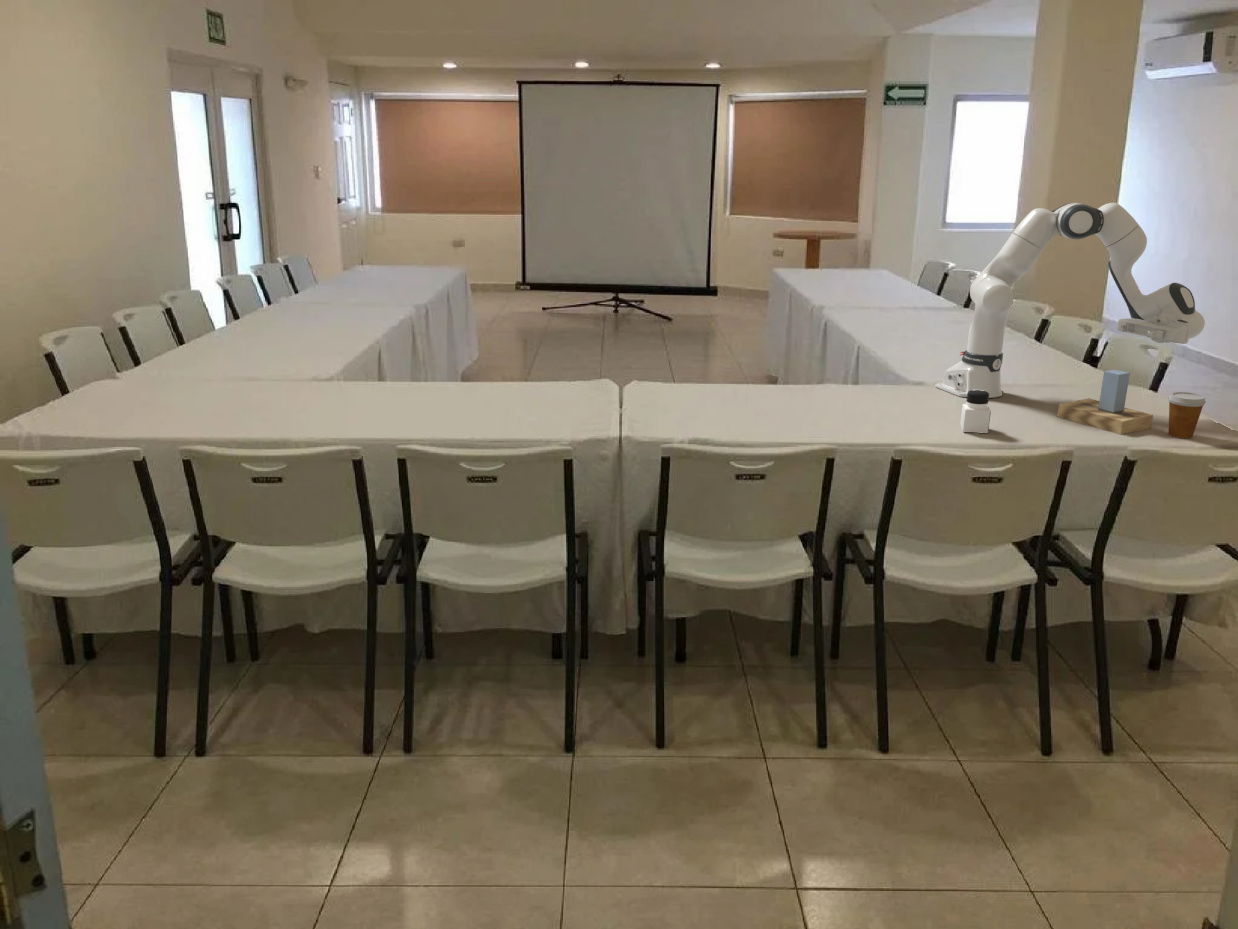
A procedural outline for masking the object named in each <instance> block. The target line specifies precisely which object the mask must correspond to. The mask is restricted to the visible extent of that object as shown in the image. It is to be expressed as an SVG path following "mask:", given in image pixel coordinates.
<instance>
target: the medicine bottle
mask: <svg viewBox="0 0 1238 929" xmlns="http://www.w3.org/2000/svg"><path fill="white" fill-rule="evenodd" d="M989 399H990V398H989V393H988V392H986V391H984V390H970V391H968V393H967V397H966V403H962V406H961V407H962V408H961V416H960V424H959V425H960V429H961V431H962V430H963V431H962V433H963V432H979V433H980V432H982V433H988V434H989V428H990V422H991V421H990V420H991V409H990V408H989V407H990V406H989ZM979 433H978V434H979Z"/></svg>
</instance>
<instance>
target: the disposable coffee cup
mask: <svg viewBox="0 0 1238 929" xmlns="http://www.w3.org/2000/svg"><path fill="white" fill-rule="evenodd" d="M1205 398H1206V397H1205V396H1204V395H1202V394H1199V393H1194V392H1190V391H1189V392H1188V391H1186V392H1185V391H1175V392H1171V393H1170V395H1169V397H1168V402H1169V404H1168V405H1169V407H1168V430H1167V432H1168V433H1167V434H1168V436H1171V437H1173V438H1178V439H1192V438H1193V437H1194V434H1195V431H1196V427H1197V425H1198V422H1199V419H1200V416H1201V412H1202V410H1203V407H1204V406H1205V404H1206V399H1205Z"/></svg>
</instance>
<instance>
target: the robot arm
mask: <svg viewBox="0 0 1238 929" xmlns="http://www.w3.org/2000/svg"><path fill="white" fill-rule="evenodd" d="M1093 235H1095V236H1096V237H1097V238H1098V239H1099V240H1100V241H1101V242H1102V243H1103V245H1104V247H1105V248H1106V249H1107V251H1108V254H1109V258H1110V260H1109V262H1108V269H1109V272H1110V275H1111V277H1112V279H1113V281H1114V283H1115V285H1116V287H1117V289H1118V290H1119V293H1120V294H1121V296H1122V298H1123V300H1124V303H1125V304H1126V307H1127V309H1128V312H1129V316H1130V318H1128V317H1127V318H1120V319H1118V321H1117V324H1116V330H1117V331H1119V332H1123V333H1129V334H1134V335H1139V336H1143V337H1146V338H1150V339H1151V340H1152V341H1153V342H1154V343H1158V344H1164V343H1166V344H1167V343H1168V344H1169V343H1173V344H1174V343H1175V344H1179V345H1180V344H1181V345H1185V344H1188V342H1189V340H1190V339H1193V338H1195V337H1198V336H1199V335H1200V334H1201V333H1202V332H1203V330H1204V328H1205V324H1206V322H1205V318H1204V316H1203V314H1201V312H1199V311H1197V309H1196V302H1195V298H1194V295H1193V292H1192V291H1191V290H1190V289H1189V288H1188V287H1187V286H1185V285H1184V284H1182V283H1179V282H1171V283H1169V284H1168V285H1165V286H1163V287H1161V288H1159V289H1157V290H1155V291H1153V292H1151V293H1149V294H1147V295H1145V294H1143V293H1142V291H1141V290H1140V288H1139V286H1138V284H1137V282H1136V280H1135V278H1134V276H1133V274H1132V269H1133V266H1134V265H1135V264H1136V263H1137V261H1138V260H1139V259H1140V258H1141V256H1142V255H1143V254H1144V253H1145V251H1146V249H1147V246H1148V245H1147V244H1148V238H1147V235H1146V233H1145V231H1144V230H1143V228H1142V227H1141V226H1140V224H1139V223H1138V222H1137V221H1136V220H1135V218H1134V217H1133V216H1132V215H1131V214H1130V212H1128V211H1127V210H1126V209H1125V208H1124V207H1123V206H1122V205H1121V204H1119V203H1117V202H1108V203H1105V204H1103V205H1101V206H1099V207H1098V208H1095V207H1093V206H1091V205H1088V204H1085V203H1081V202H1070V203H1065V204H1063V205H1061V206H1058V208H1055V209H1053V210H1052V211H1051V210H1049V209H1047V208H1043V207H1038V208H1034V209H1032V210H1031V211H1029V213H1028V214H1027V215H1025V217H1024V218H1023V219H1022V220H1021V222H1019V223H1018V225H1017V226H1016V227H1015V229H1014V230H1013V232H1012V233H1011V234H1010V236H1009V238H1008V239H1007V240H1006V242H1005V243H1004V244H1003V245H1002V247H1001V248H1000V250H999V252H998V253H997V254H996V255H995V257H994V258H993V259H992V260H991V261H990V262H989V263H988V265H986V267H985V268H984V269H983V270H982V271H981V272H980V273H979V275H978V276H977V277H976V278H974V279H973V280H972V282H971V283H970V287H969V296H970V299H971V301H972V302H973V303H974V312H973V316H972V321H971V323H970V325H969V330H968V336H967V347H966V350H965V351H960V354H959V356H962V358H961V360H960V361H958V362H957V363H955V364H953V365H951V366H950V367H948V368H947V369H946V370H945V372H944V375H943V380H942V381H939V382H937V383H935V385H934V387H935V388H937V389H940V390H942V391H945V392H948V393H949V394H953V395H955V396H958V397H962V398H967V393H968V391H970V390H984V391H986V392H988V393H989V399H991V398H992V399H993V398H998V397H1002V395H1003V393H1002V385H1001V367H1002V364H1003V358H1004V353H1003V347H1004V346H1003V345H1004V336H1005V331H1006V326H1007V323H1008V319H1009V315H1010V311H1011V307H1012V305H1013V303H1014V292H1013V289H1012V287H1013V286H1014V285H1015V284H1016V283H1017V282H1018V281H1020V279H1021V278H1022V277H1023V276H1024V275H1026V274H1027V273H1028V272H1029V271H1030V270H1031V268H1032V267H1033V266H1034V264H1035V262H1036V261H1037V259H1038V258H1039V257H1040V256H1041V254H1042V253H1043V251H1044V250H1045V248H1046V247H1047V245H1048V243H1049V242H1051V240H1053V239H1054V237H1057V236H1062V237H1063V238H1066V239H1068V240H1082V239H1083V240H1084V239H1086V238H1088V237H1090V236H1093Z"/></svg>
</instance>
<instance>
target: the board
mask: <svg viewBox="0 0 1238 929" xmlns="http://www.w3.org/2000/svg"><path fill="white" fill-rule="evenodd" d="M1099 401H1100V400H1097V399H1092V398H1083V399H1080V400H1079V399H1078V400H1077V401H1068V402H1063V403H1059V404H1058V410H1057V415H1056V416H1058V417H1059V418H1061V417H1063V418H1062V419H1064V418H1066V419H1065V420H1068V419H1069V420H1068V421H1071V422H1074V423H1079V424H1083V425H1086V426H1089V427H1093V428H1096V429H1100V430H1104V431H1107V432H1110V433H1114V434H1118V435H1124V434H1129V433H1134V432H1139V431H1142V430H1147V429H1148V430H1149V429H1151V428H1152V424H1153V423H1152V422H1153V418H1154V414H1150V413H1147V412H1145V411H1144V412H1143V411H1139V410H1136V409H1132V408H1128V407H1124V412H1120V413H1115V414H1111V413H1108V412H1104V411H1100V410H1098V408H1099Z"/></svg>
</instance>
